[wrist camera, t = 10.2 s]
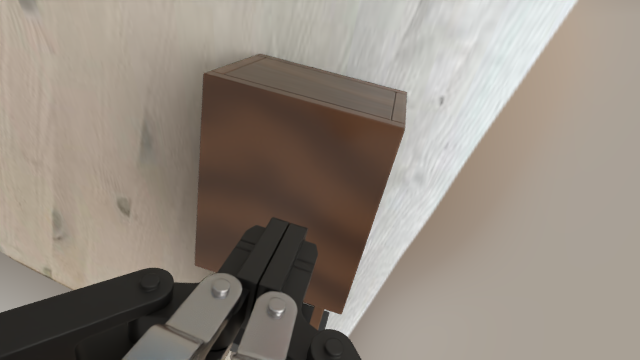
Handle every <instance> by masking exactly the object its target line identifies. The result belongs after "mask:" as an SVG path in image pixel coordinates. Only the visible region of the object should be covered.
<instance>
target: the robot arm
mask: <svg viewBox="0 0 640 360" xmlns="http://www.w3.org/2000/svg"><path fill="white" fill-rule="evenodd" d="M307 231H308V228H306V227H303V226H300V225H297V224H294V223H290V222H287V221H284V220H281V219H278V218H275V217H272V218H271V220H270V221H269V223H268V225H267V226H266V228H265V227H262V226H259V225H255V226H253V227H251V228H250V229H248V230H246V231H245V233H244V234H243V236H242V237H241V239H240V241H239V242H238V243H237V244H236V246H235V247H234V249H233V250H232V252H231V253H230V255H229V256H228V258H227V259H226V260H225V262H224V263H223V265H222V266H221V268H220V269H219V271H218V272H217V273H215V274H212V275H209V276H207V277H206V278H204V279H203V280H202V281H201V282H200V283H175V282H174V280H173V277H172V275H171V274H170V273H169V272H168V271H166V270H163V269H160V268H147V269H143V270H139V271H136V272H133V273H129V274H126V275H123V276H120V277H116V278H113V279H110V280H107V281H103V282H100V283H97V284H93V285H90V286H87V287H84V288H80V289H77V290H74V291H70V292H67V293H64V294H61V295H57V296H54V297H51V298H48V299H44V300H41V301H38V302H34V303H31V304H28V305H24V306H21V307H18V308H15V309H11V310H8V311H5V312H2V313H0V360H224V359H225V358H226V356H227V354H228V353H229V351H230V349H231V348H232V345H233V341H234V339H235V337H236V335H237V333H238V331H239V329H240V328H243V329H245V331H244V334H243V337H242V339H241V342H240V344H239V347H238V349H237V352H236V354H234V355H233V356H232V358H231V360H361V358H360V356H359V354H358V353H357V351H356V349H355V347H354V346H353V344H352V342H351V341H350V339H349V338H348V337H347V336H346V335H344V334H343V333H341V332H339V331H336V330H332V329H326V330H322V331H319V330H317V329H316V328H314V327H313V326H312V325H310V324H309V323H308V322H307V320H306V319H305V318H304V316H303V313H302V310H301V307H302V304H303V301H304V298H305V295H306V292H307V289H308V286H309V283H310V280H311V277H312V274H313V270H314V267H315V264H316V260H317V257H318V251H317V246H316V244H314V243H311V242H308V241H305V238H306V235H307Z"/></svg>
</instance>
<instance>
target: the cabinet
mask: <svg viewBox="0 0 640 360" xmlns="http://www.w3.org/2000/svg"><path fill="white" fill-rule="evenodd" d="M406 102H407V92H403V91H400V90H396V89H392V88H388V87H385V86H381V85H377V84H373V83H369V82H366V81H362V80H358V79H354V78H350V77H347V76H343V75H339V74H335V73H331V72H328V71H324V70H320V69H316V68H312V67H309V66H305V65H301V64H297V63H293V62H290V61H286V60H282V59H278V58H274V57H271V56H267V55H263V54H258V55H256V56H253V57H250V58H247V59H244V60H241V61H238V62H235V63H232V64H229V65H226V66H224V67H221V68H218V69H215V70H212V71H209V72H206V73H204V74H203V95H202V117H201V139H200V160H199V182H198V204H197V226H196V247H195V266H198V267H201V268H204V269H207V270H210V271H213V272H216V273H217V272H218V271H219V269H220V268H221V266H222V265H223V263H224V262H225V260H226V259H227V258H228V256H229V255H230V253H231V252H232V250H233V249H234V247H235V246H236V244H237V243H238V242H239V241H240V239H241V237H242V236H243V234H244V233H245V231H246V230H248V229H250V228H251V227H253V226H255V225H259V226H262V227H265V228H266V226H267V225H268V223H269V221H270V220H271V218H272V217H275V218H278V219H281V220H284V221H287V222H290V223H294V224H297V225H300V226H303V227H306V228H308V231H307V235H306V238H305V241H308V242H311V243H314V244H316V246H317V251H318V257H317V260H316V264H315V267H314V270H313V274H312V277H311V280H310V283H309V286H308V289H307V292H306V295H305V298H304V301H303V302H305V303H308V304H311V305H314V306H317V307H320V308H323V309H326V310H329V311H332V312H335V313H338V314H342V312H343V309H344V306H345V303H346V300H347V297H348V294H349V291H350V289H351V286H352V283H353V280H354V277H355V274H356V271H357V268H358V265H359V262H360V259H361V256H362V253H363V251H364V248H365V245H366V242H367V239H368V236H369V233H370V230H371V227H372V224H373V221H374V218H375V215H376V213H377V210H378V207H379V204H380V201H381V198H382V195H383V192H384V189H385V186H386V183H387V180H388V178H389V175H390V172H391V169H392V166H393V163H394V160H395V157H396V154H397V151H398V148H399V145H400V142H401V140H402V137H403V134H404V131H405V120H406Z"/></svg>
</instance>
